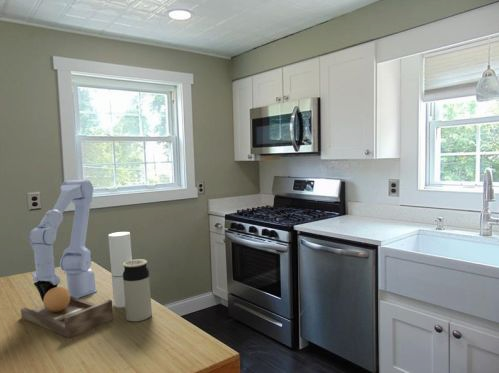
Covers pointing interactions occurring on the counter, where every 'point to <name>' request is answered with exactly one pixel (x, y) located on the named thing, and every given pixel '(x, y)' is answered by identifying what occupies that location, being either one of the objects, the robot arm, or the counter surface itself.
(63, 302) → the ball
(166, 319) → the counter surface
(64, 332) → the tray
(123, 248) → the cylindrical container
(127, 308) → the travel mug
